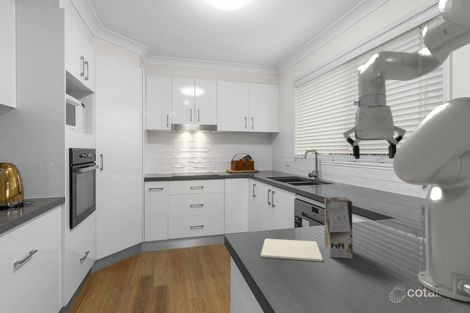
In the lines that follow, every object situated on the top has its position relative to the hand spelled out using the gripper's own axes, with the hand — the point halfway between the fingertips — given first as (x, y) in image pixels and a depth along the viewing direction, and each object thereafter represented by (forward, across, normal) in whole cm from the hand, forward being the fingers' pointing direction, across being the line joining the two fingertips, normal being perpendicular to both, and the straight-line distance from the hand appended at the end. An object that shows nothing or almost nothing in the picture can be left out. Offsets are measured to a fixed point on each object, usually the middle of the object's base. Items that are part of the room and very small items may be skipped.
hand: (374, 158), depth 77 cm
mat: (+28, -26, -3) cm, 38 cm away
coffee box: (+28, -12, -3) cm, 31 cm away
